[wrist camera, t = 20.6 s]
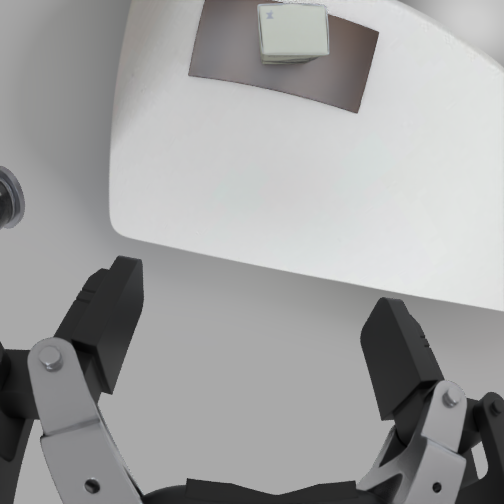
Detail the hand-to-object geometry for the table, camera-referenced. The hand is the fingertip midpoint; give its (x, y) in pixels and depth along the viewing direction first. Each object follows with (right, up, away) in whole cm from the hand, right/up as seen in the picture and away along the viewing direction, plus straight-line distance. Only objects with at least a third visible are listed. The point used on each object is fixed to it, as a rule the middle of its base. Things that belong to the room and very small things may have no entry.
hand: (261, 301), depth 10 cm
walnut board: (+3, +24, +18) cm, 31 cm away
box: (+3, +24, +18) cm, 30 cm away
